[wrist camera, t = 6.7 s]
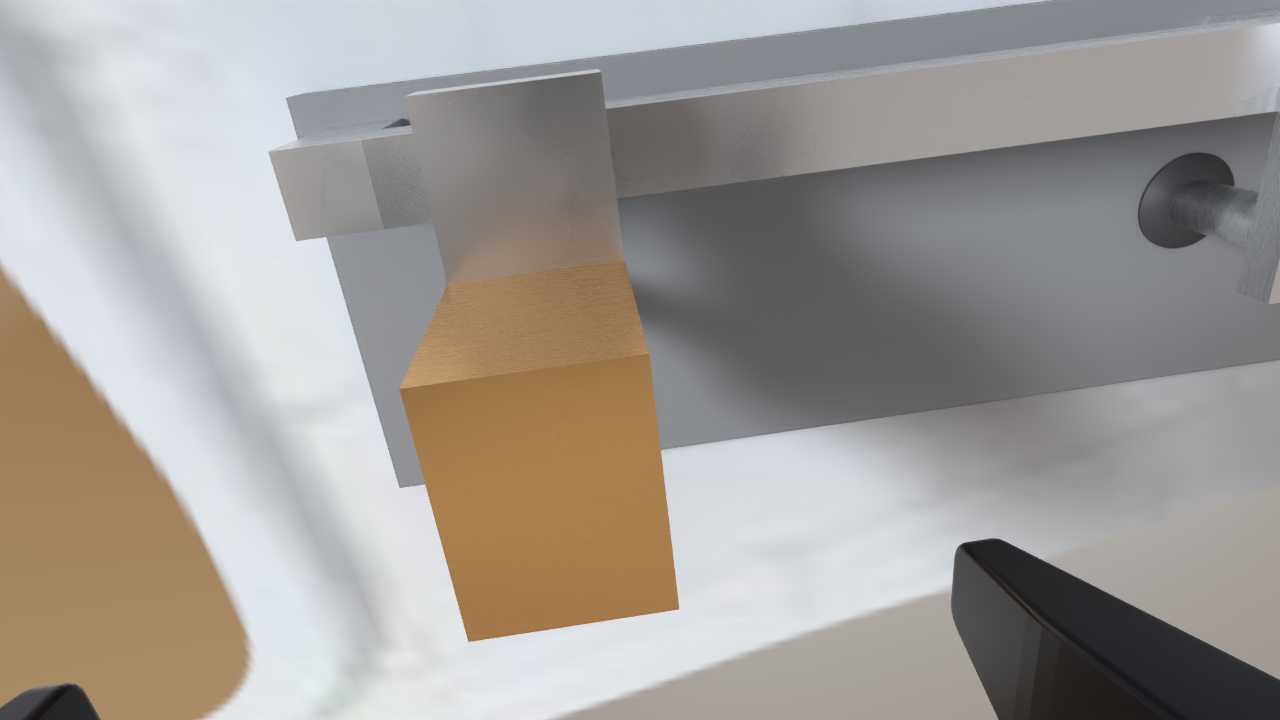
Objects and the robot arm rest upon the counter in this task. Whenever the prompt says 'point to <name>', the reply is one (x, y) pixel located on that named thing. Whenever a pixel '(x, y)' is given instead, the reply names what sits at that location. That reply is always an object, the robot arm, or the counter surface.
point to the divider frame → (876, 129)
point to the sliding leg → (535, 365)
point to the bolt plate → (875, 247)
